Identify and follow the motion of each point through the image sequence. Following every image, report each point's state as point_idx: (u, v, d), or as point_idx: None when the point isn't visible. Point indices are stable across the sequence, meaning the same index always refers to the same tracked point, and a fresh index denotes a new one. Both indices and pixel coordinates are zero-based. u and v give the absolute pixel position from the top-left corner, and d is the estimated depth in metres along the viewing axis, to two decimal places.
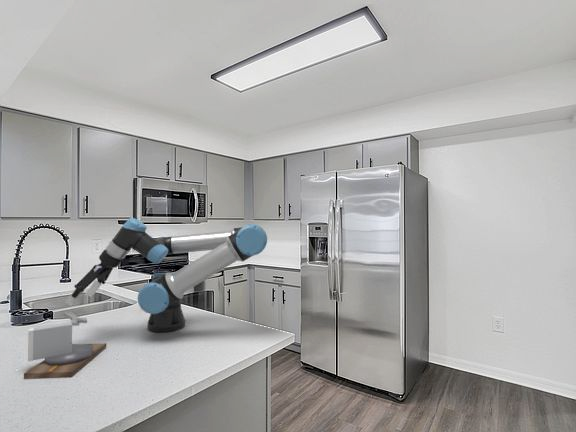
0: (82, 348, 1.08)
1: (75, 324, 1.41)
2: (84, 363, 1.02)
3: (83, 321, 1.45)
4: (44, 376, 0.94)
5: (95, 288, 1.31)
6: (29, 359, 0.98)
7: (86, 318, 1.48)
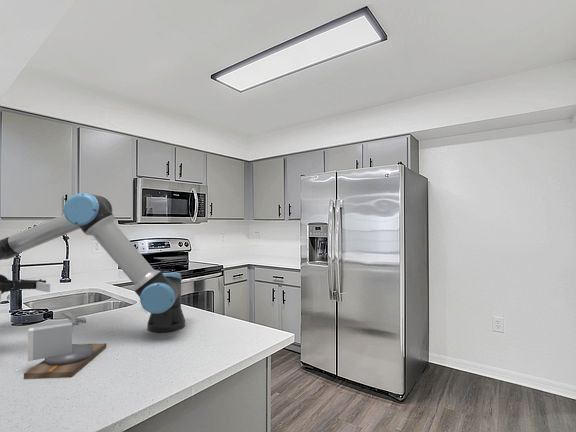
0: (82, 348, 1.08)
1: (74, 324, 1.41)
2: (84, 363, 1.02)
3: (82, 321, 1.45)
4: (44, 376, 0.94)
5: (40, 284, 1.11)
6: (29, 359, 0.98)
7: (85, 318, 1.48)
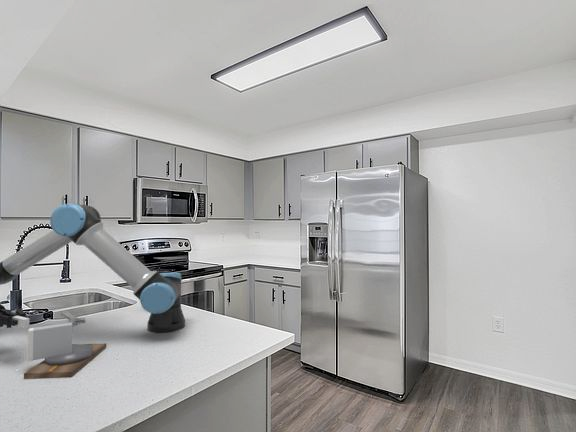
0: (82, 348, 1.08)
1: (73, 324, 1.41)
2: (84, 363, 1.02)
3: (81, 321, 1.45)
4: (44, 376, 0.94)
5: None
6: (29, 359, 0.98)
7: (84, 318, 1.48)
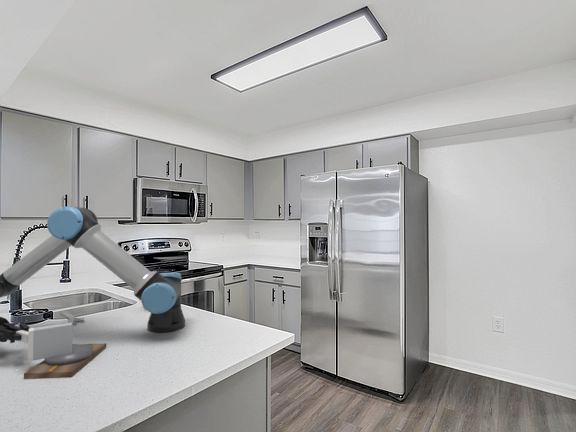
0: (82, 348, 1.08)
1: (72, 324, 1.41)
2: (84, 363, 1.02)
3: (80, 321, 1.45)
4: (44, 376, 0.94)
5: None
6: (29, 359, 0.98)
7: (83, 318, 1.48)
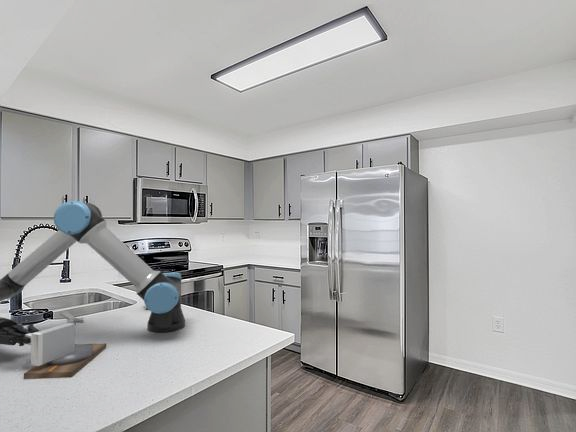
0: (78, 347, 1.09)
1: None
2: (84, 363, 1.02)
3: (80, 321, 1.45)
4: (44, 376, 0.94)
5: None
6: (39, 363, 0.95)
7: None
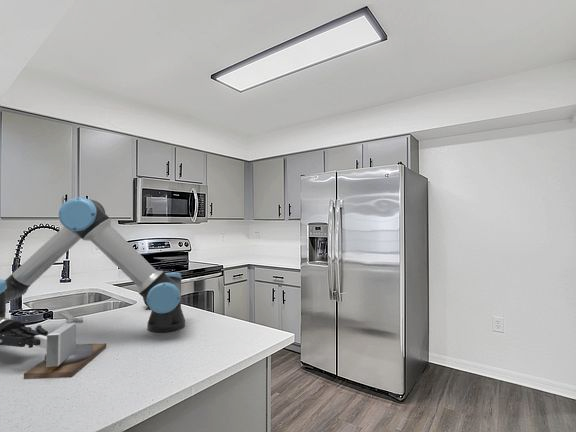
0: None
1: None
2: (84, 363, 1.02)
3: (79, 321, 1.45)
4: (44, 376, 0.94)
5: None
6: (58, 363, 0.96)
7: None
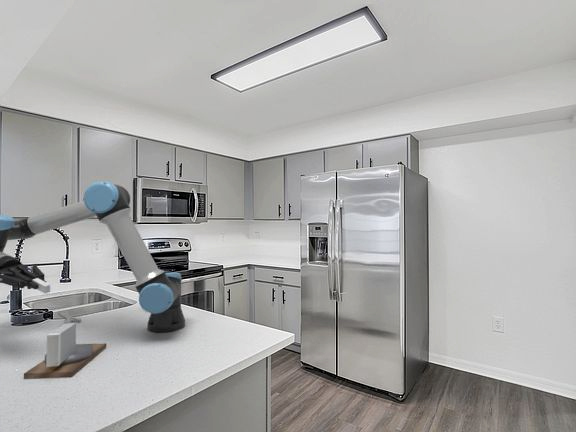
0: None
1: None
2: (84, 363, 1.02)
3: (77, 321, 1.45)
4: (44, 376, 0.94)
5: None
6: (58, 363, 0.96)
7: (80, 318, 1.48)
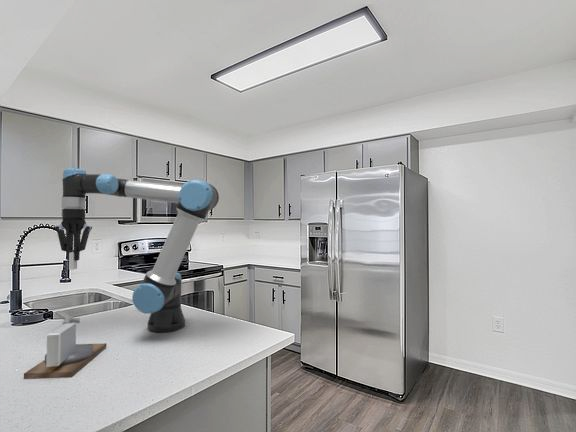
0: None
1: None
2: (84, 363, 1.02)
3: (76, 321, 1.45)
4: (44, 376, 0.94)
5: None
6: (58, 363, 0.96)
7: (79, 318, 1.48)
